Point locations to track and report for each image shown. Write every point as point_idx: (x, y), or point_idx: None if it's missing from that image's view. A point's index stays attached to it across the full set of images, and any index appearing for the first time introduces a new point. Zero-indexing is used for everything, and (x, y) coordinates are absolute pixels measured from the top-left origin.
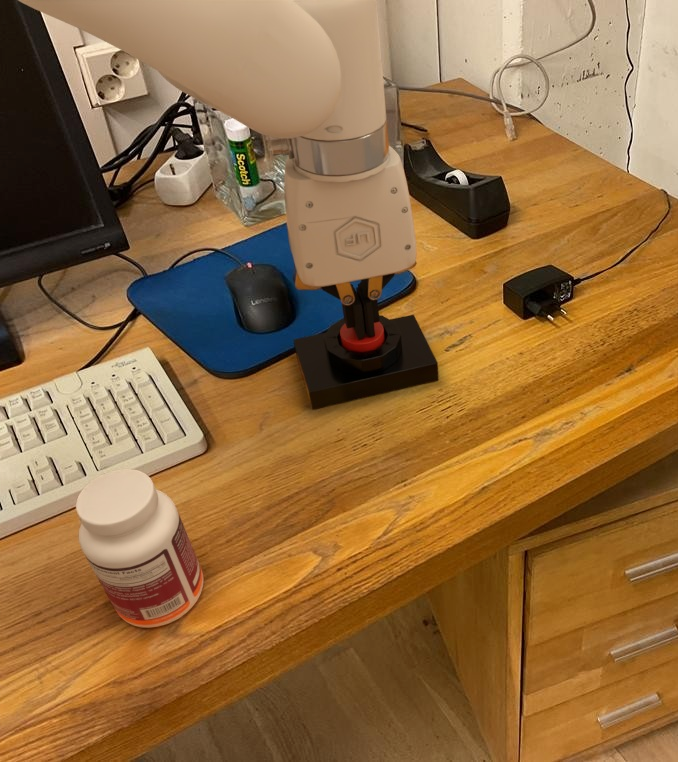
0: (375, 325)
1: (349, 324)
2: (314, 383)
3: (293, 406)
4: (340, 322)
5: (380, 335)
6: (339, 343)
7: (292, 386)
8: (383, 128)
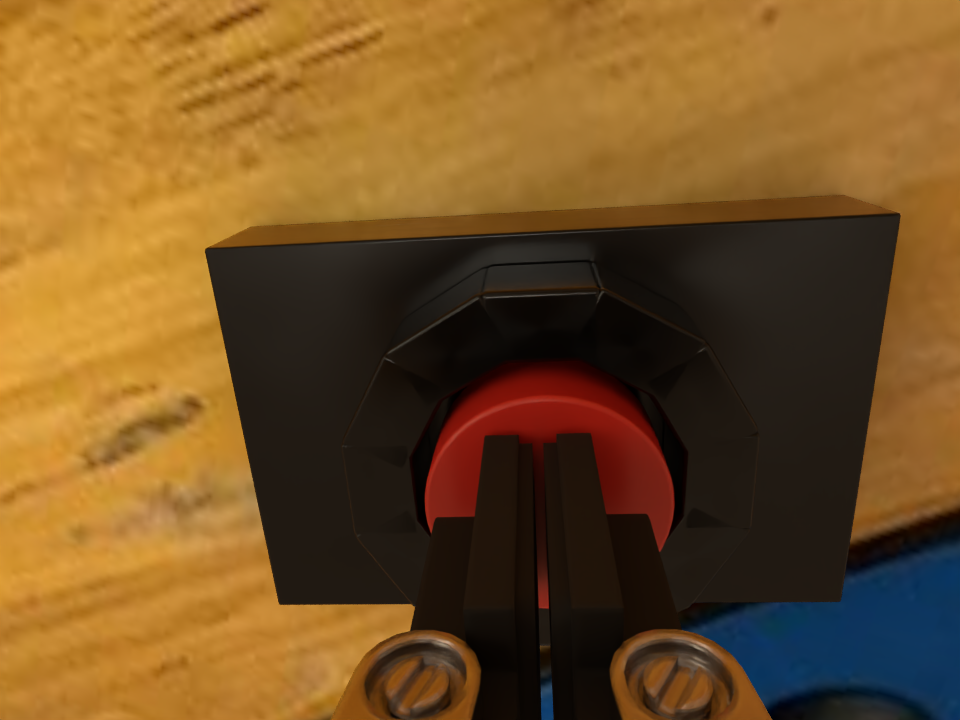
0: None
1: (637, 525)
2: (852, 272)
3: (916, 246)
4: None
5: (453, 439)
6: None
7: None
8: None
